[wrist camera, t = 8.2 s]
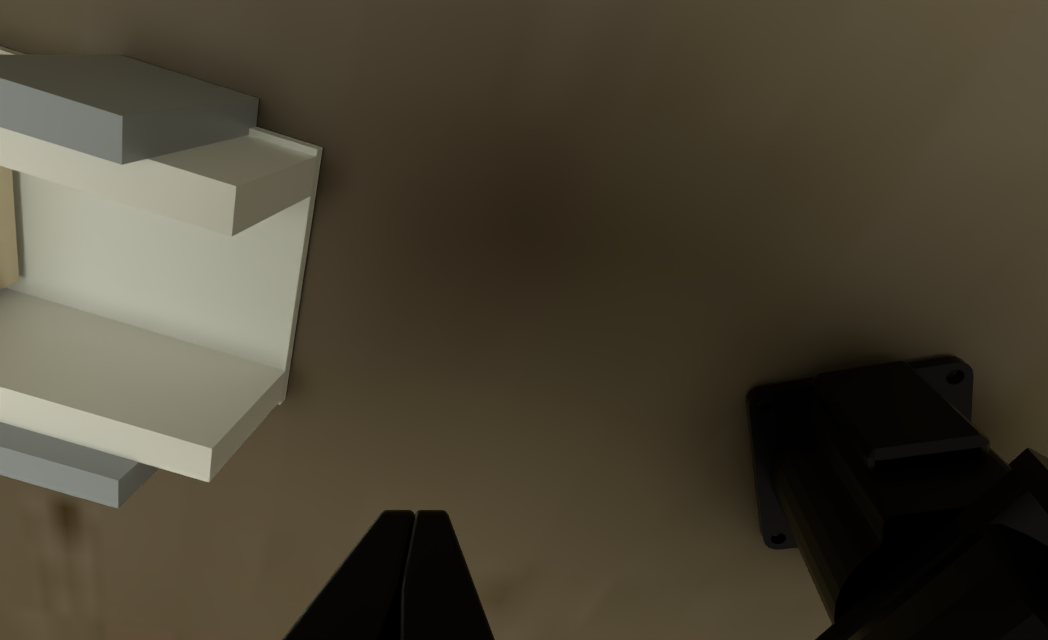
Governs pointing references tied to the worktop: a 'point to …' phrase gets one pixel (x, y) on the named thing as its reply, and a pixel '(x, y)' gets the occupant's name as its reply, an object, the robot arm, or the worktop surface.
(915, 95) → the worktop surface
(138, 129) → the chute
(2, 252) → the maple block
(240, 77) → the worktop surface
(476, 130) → the worktop surface
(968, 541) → the robot arm
